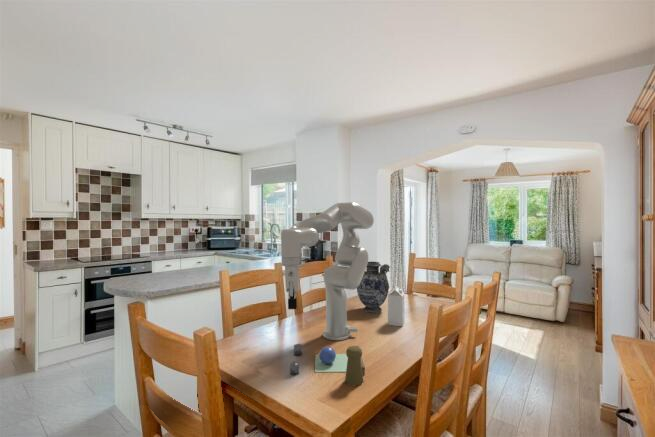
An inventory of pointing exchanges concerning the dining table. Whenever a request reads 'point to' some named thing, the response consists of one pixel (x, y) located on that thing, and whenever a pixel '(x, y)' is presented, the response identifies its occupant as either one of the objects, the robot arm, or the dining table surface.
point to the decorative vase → (374, 287)
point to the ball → (327, 355)
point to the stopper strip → (362, 366)
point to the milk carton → (396, 307)
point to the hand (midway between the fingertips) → (292, 308)
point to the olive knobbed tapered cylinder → (354, 366)
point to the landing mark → (332, 364)
